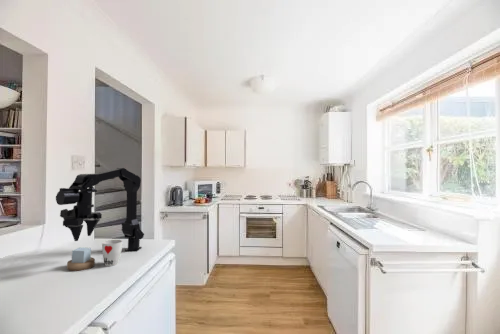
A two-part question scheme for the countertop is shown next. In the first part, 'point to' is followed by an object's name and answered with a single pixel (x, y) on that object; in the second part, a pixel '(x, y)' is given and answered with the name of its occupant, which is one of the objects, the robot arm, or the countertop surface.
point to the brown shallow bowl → (80, 265)
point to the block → (81, 255)
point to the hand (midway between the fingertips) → (82, 238)
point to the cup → (111, 251)
